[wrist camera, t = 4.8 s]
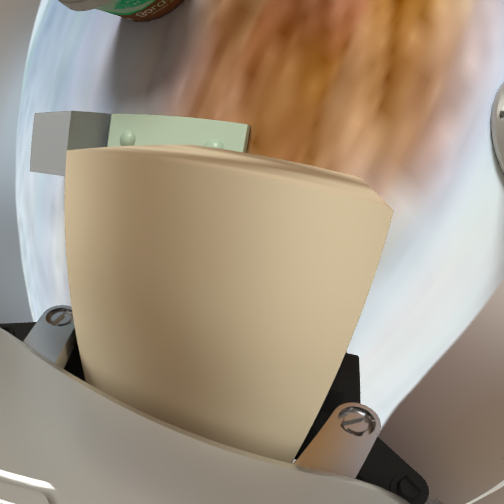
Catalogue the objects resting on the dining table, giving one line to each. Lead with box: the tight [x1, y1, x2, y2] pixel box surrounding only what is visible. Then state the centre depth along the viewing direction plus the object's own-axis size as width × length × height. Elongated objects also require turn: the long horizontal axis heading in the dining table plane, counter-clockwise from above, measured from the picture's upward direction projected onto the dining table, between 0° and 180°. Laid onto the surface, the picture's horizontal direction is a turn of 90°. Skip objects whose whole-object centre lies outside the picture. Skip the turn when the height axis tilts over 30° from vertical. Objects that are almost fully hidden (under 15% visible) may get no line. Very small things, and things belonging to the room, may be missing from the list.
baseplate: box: [108, 114, 251, 153], centre depth 28 cm, size 14×14×1 cm
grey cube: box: [30, 111, 111, 176], centre depth 26 cm, size 6×6×6 cm
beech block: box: [65, 145, 394, 464], centre depth 10 cm, size 6×12×6 cm, turn 170°
